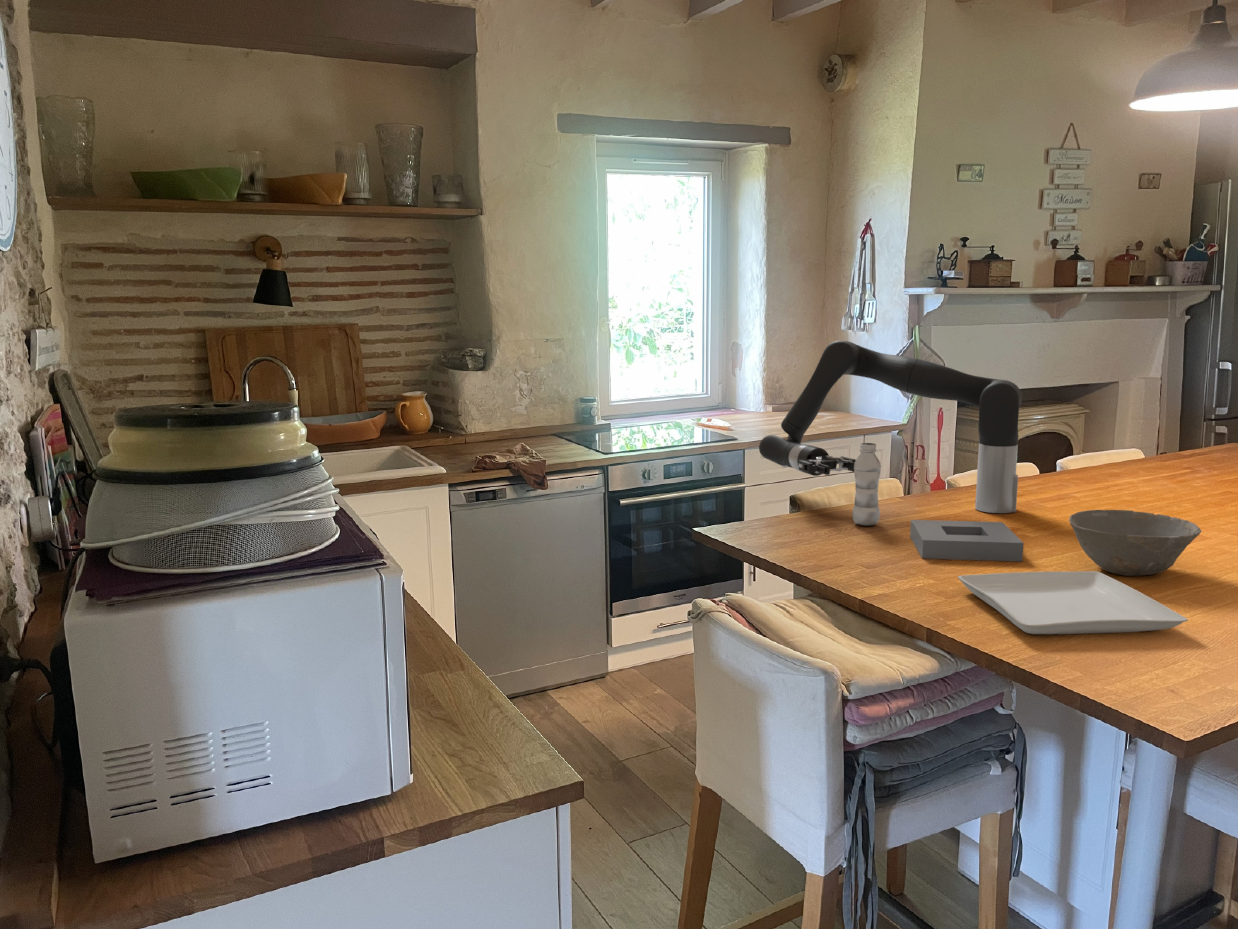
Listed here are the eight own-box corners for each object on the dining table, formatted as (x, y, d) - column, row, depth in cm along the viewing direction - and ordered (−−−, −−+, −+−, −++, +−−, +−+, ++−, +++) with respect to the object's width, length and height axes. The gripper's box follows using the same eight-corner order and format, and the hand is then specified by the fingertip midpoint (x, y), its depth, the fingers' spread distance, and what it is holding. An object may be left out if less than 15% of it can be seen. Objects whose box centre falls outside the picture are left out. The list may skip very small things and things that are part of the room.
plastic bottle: (884, 524, 221) (887, 443, 217) (870, 529, 216) (873, 447, 212) (860, 520, 225) (863, 440, 222) (846, 525, 220) (849, 444, 217)
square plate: (1096, 588, 172) (1097, 568, 171) (1189, 641, 145) (1191, 618, 145) (954, 591, 171) (956, 571, 171) (1022, 645, 144) (1024, 622, 144)
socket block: (1001, 539, 206) (1002, 522, 205) (1022, 561, 188) (1023, 543, 188) (910, 536, 209) (910, 519, 208) (922, 558, 192) (922, 540, 191)
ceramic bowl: (1040, 562, 188) (1043, 515, 186) (1123, 550, 195) (1126, 505, 194) (1134, 594, 167) (1139, 541, 165) (1222, 579, 175) (1227, 529, 173)
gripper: (785, 447, 239) (819, 456, 224) (831, 443, 244) (867, 452, 229) (785, 475, 241) (818, 486, 226) (831, 471, 246) (866, 481, 231)
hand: (843, 469), depth 228 cm, fingers open, 8 cm apart
